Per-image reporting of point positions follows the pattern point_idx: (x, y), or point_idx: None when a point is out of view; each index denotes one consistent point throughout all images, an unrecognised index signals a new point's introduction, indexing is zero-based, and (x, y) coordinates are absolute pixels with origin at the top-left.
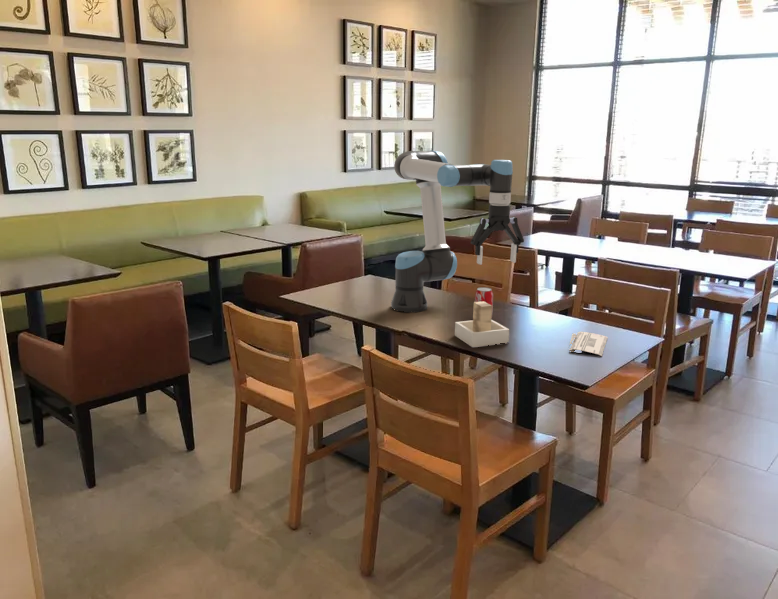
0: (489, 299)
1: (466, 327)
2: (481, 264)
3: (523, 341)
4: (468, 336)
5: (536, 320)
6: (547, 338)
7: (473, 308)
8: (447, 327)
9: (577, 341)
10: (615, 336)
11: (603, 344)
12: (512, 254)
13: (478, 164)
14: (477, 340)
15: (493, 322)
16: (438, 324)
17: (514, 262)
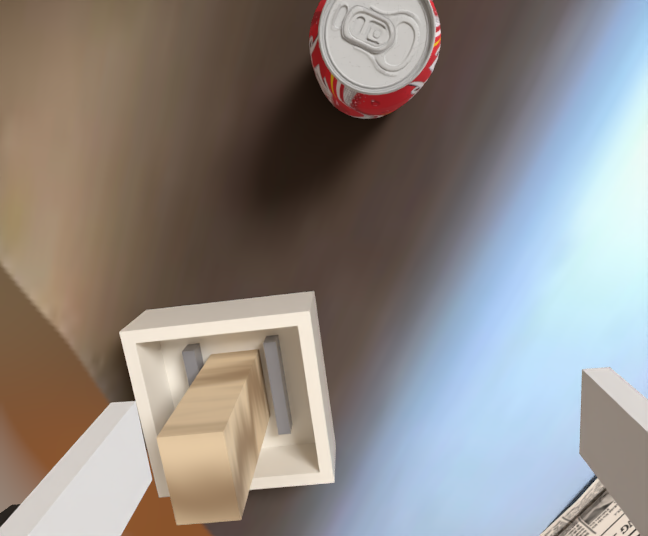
0: (388, 110)
1: (152, 418)
2: (145, 481)
3: (404, 438)
4: None
5: (630, 165)
6: (521, 426)
7: (170, 416)
8: (140, 188)
9: (596, 531)
10: None
11: None
12: (636, 473)
13: None
14: None
15: (305, 371)
16: (106, 129)
17: (588, 453)
